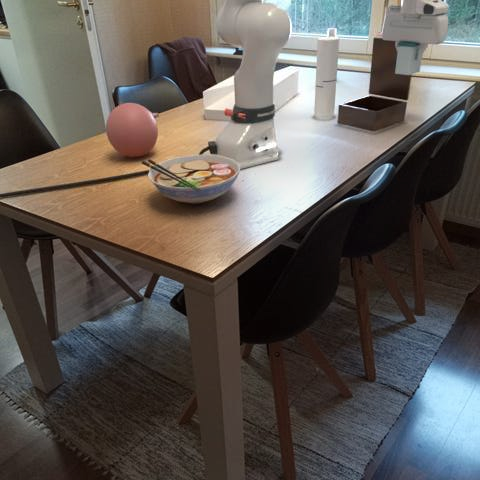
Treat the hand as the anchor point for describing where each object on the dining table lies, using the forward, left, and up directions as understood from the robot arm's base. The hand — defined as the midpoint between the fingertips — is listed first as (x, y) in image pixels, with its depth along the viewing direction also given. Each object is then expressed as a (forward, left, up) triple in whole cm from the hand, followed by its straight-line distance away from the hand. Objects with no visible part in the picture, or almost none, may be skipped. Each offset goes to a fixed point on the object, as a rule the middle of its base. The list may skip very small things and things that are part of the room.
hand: (409, 58), depth 150 cm
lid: (+5, +10, -5) cm, 12 cm away
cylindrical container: (-6, +28, -21) cm, 35 cm away
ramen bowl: (-82, +4, -21) cm, 85 cm away
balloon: (-73, +45, -21) cm, 88 cm away
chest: (-3, +10, -21) cm, 23 cm away
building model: (-11, +60, -21) cm, 65 cm away
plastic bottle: (+46, +70, -21) cm, 86 cm away
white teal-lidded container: (0, 0, -4) cm, 4 cm away
